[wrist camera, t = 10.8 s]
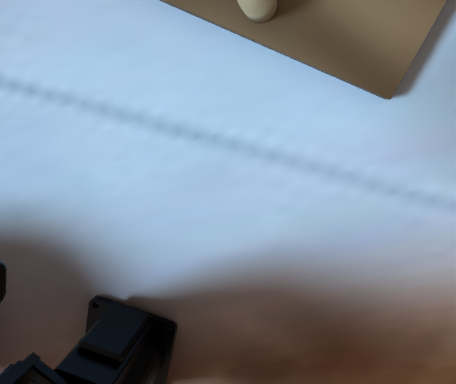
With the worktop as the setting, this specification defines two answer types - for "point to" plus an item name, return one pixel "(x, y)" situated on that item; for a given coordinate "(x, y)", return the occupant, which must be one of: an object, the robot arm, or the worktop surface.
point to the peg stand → (331, 33)
